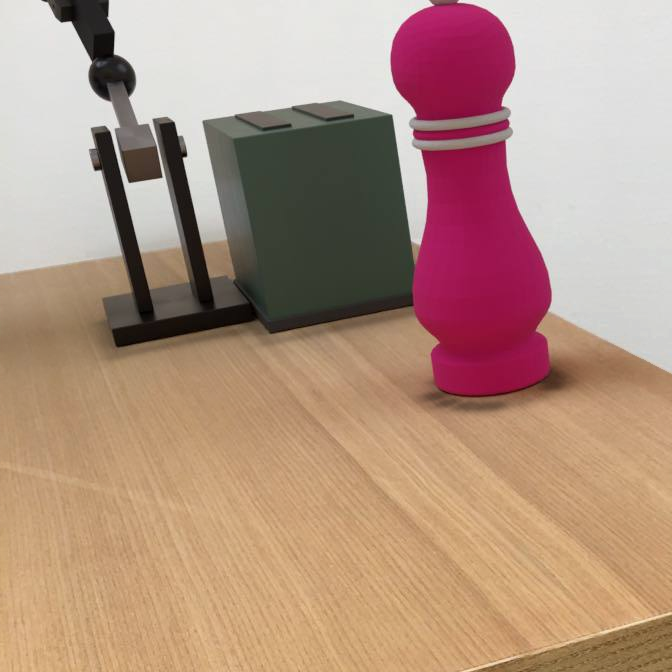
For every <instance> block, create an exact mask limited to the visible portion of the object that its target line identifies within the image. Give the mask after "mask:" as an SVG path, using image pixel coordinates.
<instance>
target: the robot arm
mask: <svg viewBox="0 0 672 672" xmlns="http://www.w3.org/2000/svg"><path fill="white" fill-rule="evenodd" d="M41 1H42V2H43V3H47V4H48V7H49V8H50V10H51V12H52V13H53V16H54V17H55V19H56V20H57V21H58V22H59V23H61V24H63V23H70V22H71V24H72V26H73V28H74V30H75V33H76V34H77V36H78V38H79V40H80V41H81V44H82V45H83V48H84V49H85V51H86V53H87V55H88V57H89V59H90V61H91V63H92V62H93V61H94V60H95V59H96V58H97V57H99V56H101V55H104V54H115V43H116V42H115V41H116V40H115V39H116V31H115V30H114V27H113V26H112V23H111V21H110V20H109V14H110V0H41Z"/></svg>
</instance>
